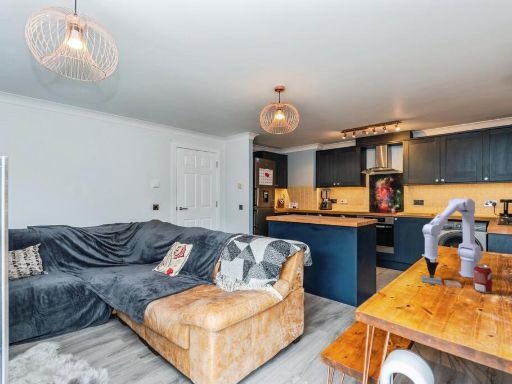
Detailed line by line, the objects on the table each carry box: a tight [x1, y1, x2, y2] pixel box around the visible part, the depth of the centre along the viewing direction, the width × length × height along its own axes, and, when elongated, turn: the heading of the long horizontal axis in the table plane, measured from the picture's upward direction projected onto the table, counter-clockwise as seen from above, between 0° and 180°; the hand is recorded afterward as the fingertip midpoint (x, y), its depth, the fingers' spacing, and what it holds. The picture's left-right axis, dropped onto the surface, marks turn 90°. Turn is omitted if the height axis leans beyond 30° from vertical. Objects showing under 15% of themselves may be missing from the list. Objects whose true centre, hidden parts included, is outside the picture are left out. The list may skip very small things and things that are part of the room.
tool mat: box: [419, 275, 443, 286], centre depth 143 cm, size 9×9×1 cm
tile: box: [443, 279, 462, 289], centre depth 137 cm, size 2×6×6 cm
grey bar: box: [422, 274, 442, 282], centre depth 143 cm, size 3×8×7 cm, turn 63°
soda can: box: [472, 264, 493, 294], centre depth 129 cm, size 7×7×12 cm
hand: (431, 272), depth 143 cm, fingers open, 7 cm apart
